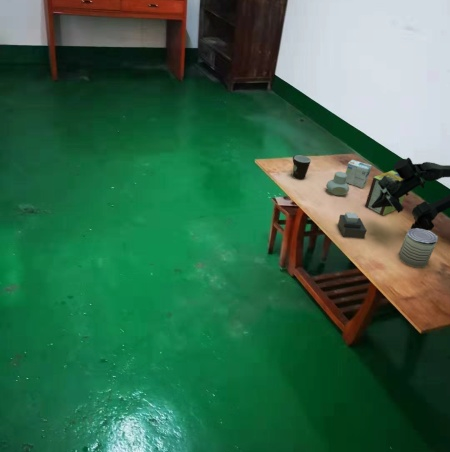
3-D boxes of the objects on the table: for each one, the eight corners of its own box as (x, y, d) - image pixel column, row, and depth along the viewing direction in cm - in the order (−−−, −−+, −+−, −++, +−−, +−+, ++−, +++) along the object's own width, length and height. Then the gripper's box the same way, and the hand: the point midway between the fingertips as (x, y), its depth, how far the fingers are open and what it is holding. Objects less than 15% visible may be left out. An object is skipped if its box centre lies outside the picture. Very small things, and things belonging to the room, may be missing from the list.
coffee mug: (308, 181, 234) (312, 163, 228) (291, 179, 233) (295, 161, 228) (305, 171, 243) (308, 153, 238) (289, 169, 243) (292, 152, 238)
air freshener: (345, 189, 230) (350, 171, 224) (348, 197, 223) (354, 179, 217) (324, 187, 229) (328, 169, 224) (326, 195, 223) (331, 176, 217)
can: (411, 270, 177) (422, 244, 170) (392, 253, 185) (401, 228, 179) (433, 265, 181) (444, 240, 175) (413, 249, 190) (423, 224, 183)
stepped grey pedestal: (357, 225, 201) (361, 214, 198) (364, 238, 193) (367, 226, 189) (336, 224, 200) (339, 212, 197) (341, 236, 192) (345, 225, 189)
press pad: (354, 218, 195) (355, 213, 194) (356, 223, 192) (358, 218, 190) (344, 217, 195) (345, 212, 194) (346, 222, 191) (348, 217, 190)
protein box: (401, 207, 219) (411, 178, 211) (382, 216, 211) (392, 186, 202) (382, 198, 226) (392, 169, 217) (364, 206, 217) (373, 176, 209)
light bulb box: (366, 184, 238) (372, 165, 232) (362, 188, 233) (368, 169, 227) (347, 177, 242) (352, 158, 236) (342, 181, 237) (347, 162, 231)
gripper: (388, 161, 189) (356, 183, 194) (404, 182, 174) (368, 205, 179) (401, 180, 194) (369, 201, 199) (417, 202, 178) (382, 224, 184)
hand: (371, 207), depth 190 cm, fingers closed
